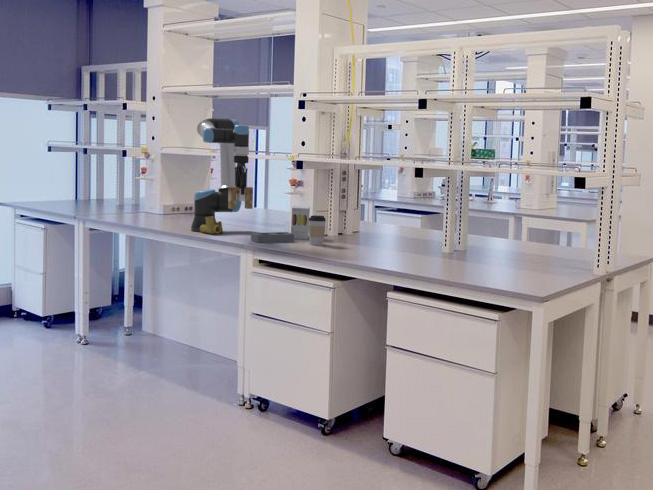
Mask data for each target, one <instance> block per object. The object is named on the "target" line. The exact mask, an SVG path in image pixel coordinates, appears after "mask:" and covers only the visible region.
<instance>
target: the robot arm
mask: <svg viewBox="0 0 653 490" xmlns="http://www.w3.org/2000/svg"><path fill="white" fill-rule="evenodd" d="M196 128H197V129H196V130H197V133H198V135H199V137H201V138H202V141H203V142H204V143H207V144H208V143H209V144H218V145H219V146H220V147H219V149H220V150H219V151H220V152H219V154H220V155H219V157H220V186H219V188H218V191H216V189H214V188H211V189H210V188H208V189H201V190H196V191H195V193H194V197H193V201H194V208H193V211H194V212H193V213H194V215H193V216H194V217H193V220H192V223H191V226H190V231H193V232H199V233H202V232H201V231H200V226H201V225H206V219H205V217H209V216H213V218H214V221H216V222H217V220H216V213H231V214H232V213H238V212H239V211H240V209H241V207H242V202H245V187H248V185H247V184H248V183H247V182H248V168H247V167H246V164H249V157H250V156H249V155H250V152H249V151H250V147H249V146H250V145H249V144H250V143H249V141H250V140H249V139H250V138H249V137H250V127H249V125H243V124H239V121H238V120H237V119H235V118H234V119H232V118H215V117H214V118H213V117H212V118H211V117H210V118H205V119H203V120H201V121H200V122H199V123H198V124H197V127H196ZM228 187H239V193H236V209H229V208H228Z"/></svg>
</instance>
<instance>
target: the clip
mask: <svg viewBox="0 0 653 490" xmlns="http://www.w3.org/2000/svg"><path fill="white" fill-rule="evenodd" d="M253 191H254V187H251V186H247V187H245V201H244V209H247V210H250V209H251V210H252V209H253V208H254V207H253V206H254V205H253V203H254V201H253V199H254V197H253V195H254V192H253ZM236 193H239V187H228V208H229V209H236Z"/></svg>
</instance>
